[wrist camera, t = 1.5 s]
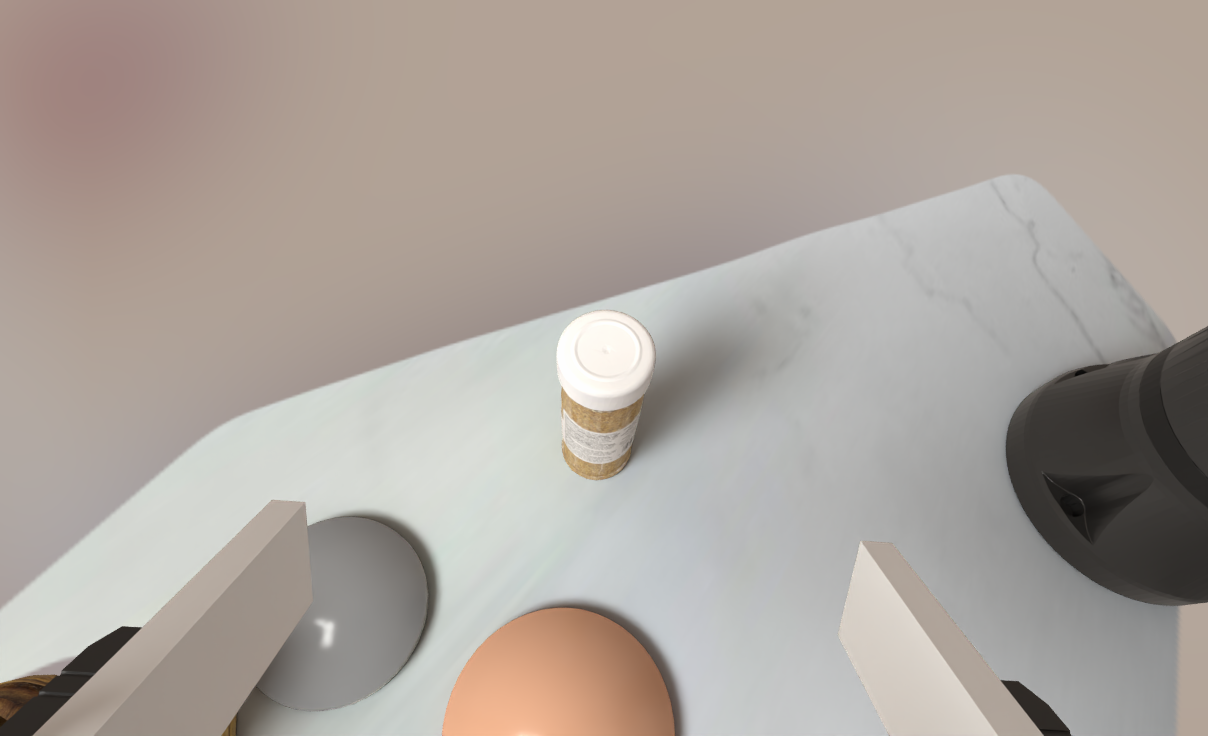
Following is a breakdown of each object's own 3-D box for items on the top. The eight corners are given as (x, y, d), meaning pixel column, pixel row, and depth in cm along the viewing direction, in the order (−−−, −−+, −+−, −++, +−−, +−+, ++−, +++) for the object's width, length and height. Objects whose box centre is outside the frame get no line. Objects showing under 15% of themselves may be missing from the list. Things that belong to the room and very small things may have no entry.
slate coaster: (461, 565, 36) (459, 563, 35) (359, 747, 31) (355, 748, 31) (319, 492, 37) (315, 488, 36) (204, 655, 33) (196, 655, 32)
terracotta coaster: (705, 669, 34) (708, 669, 33) (615, 927, 29) (616, 933, 28) (514, 572, 36) (513, 570, 35) (398, 797, 30) (394, 800, 30)
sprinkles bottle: (589, 403, 41) (597, 289, 29) (645, 442, 40) (677, 341, 28) (546, 454, 39) (535, 356, 27) (603, 497, 38) (618, 414, 26)
